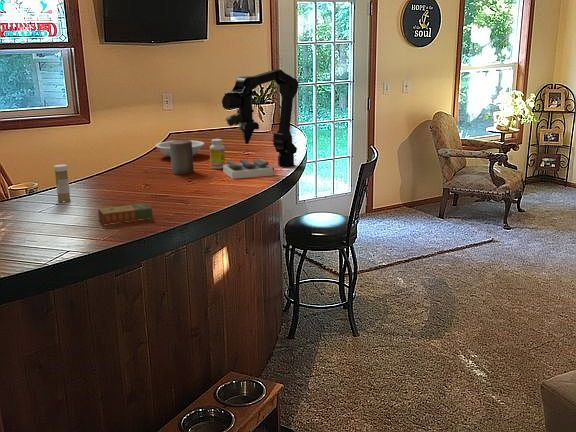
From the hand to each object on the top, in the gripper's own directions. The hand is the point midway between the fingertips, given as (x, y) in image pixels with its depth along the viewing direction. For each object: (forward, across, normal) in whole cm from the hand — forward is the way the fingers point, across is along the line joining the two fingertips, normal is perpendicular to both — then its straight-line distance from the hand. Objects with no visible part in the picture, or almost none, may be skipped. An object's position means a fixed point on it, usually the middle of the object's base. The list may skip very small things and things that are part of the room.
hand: (246, 143), depth 273 cm
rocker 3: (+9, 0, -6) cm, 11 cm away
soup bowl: (+13, -52, -20) cm, 57 cm away
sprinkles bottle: (+13, +20, -76) cm, 80 cm away
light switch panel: (+13, 0, +2) cm, 13 cm away
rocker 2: (+9, 0, 0) cm, 9 cm away
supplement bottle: (+13, -18, -9) cm, 24 cm away
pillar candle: (+13, -14, -26) cm, 32 cm away
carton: (+14, +54, -57) cm, 80 cm away
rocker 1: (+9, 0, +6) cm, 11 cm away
